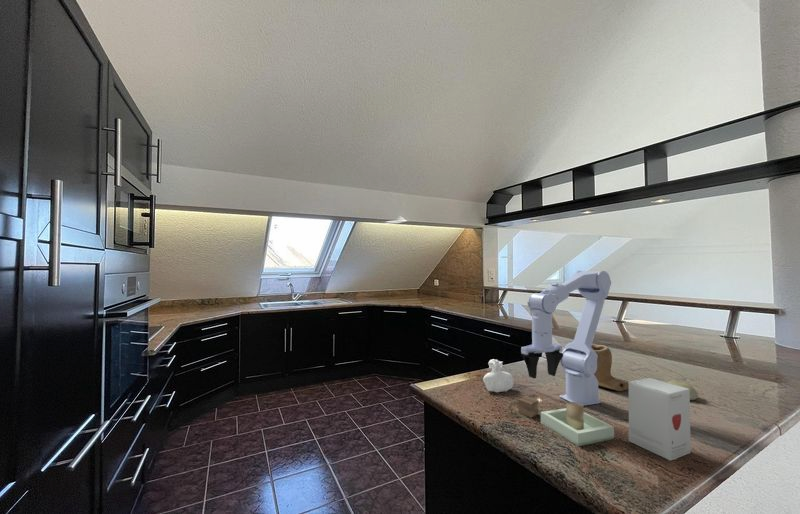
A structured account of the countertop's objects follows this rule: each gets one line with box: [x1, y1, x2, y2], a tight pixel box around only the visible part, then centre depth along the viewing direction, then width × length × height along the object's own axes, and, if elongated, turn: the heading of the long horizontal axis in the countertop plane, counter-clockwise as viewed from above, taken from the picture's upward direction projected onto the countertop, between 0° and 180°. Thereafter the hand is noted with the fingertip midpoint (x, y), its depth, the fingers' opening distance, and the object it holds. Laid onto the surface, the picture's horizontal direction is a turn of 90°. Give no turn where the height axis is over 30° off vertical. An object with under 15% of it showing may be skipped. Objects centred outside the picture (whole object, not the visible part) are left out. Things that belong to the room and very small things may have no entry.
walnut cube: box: [517, 395, 539, 419], centre depth 91 cm, size 4×4×4 cm
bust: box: [483, 358, 514, 393], centre depth 111 cm, size 12×8×11 cm
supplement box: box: [628, 377, 692, 461], centre depth 75 cm, size 9×9×15 cm
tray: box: [540, 407, 615, 447], centre depth 82 cm, size 12×12×3 cm
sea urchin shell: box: [665, 380, 699, 401], centre depth 107 cm, size 9×8×8 cm
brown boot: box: [580, 344, 629, 392], centre depth 116 cm, size 15×12×15 cm
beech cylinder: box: [565, 401, 585, 430], centre depth 82 cm, size 4×4×6 cm
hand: (542, 376), depth 95 cm, fingers open, 7 cm apart
